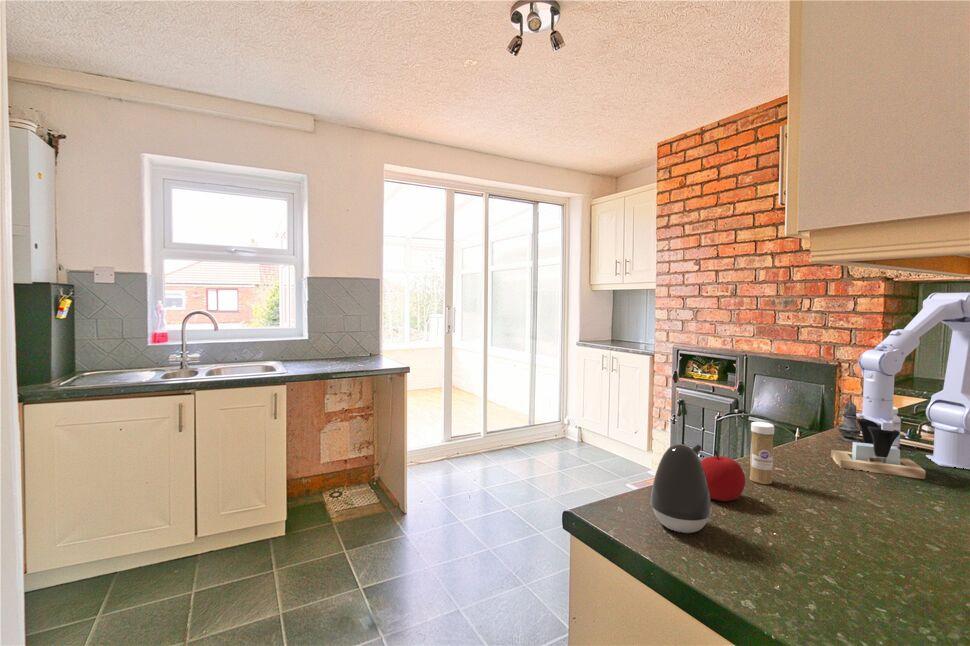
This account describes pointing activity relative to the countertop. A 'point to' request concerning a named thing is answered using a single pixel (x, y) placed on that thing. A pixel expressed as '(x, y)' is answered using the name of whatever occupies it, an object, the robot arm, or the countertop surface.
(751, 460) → the sprinkles bottle
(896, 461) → the pale blue u-shaped block
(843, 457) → the wooden slotted board
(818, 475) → the countertop surface
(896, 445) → the pill bottle
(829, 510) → the countertop surface
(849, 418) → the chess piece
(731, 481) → the apple
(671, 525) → the grey egg-shaped body
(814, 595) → the countertop surface
